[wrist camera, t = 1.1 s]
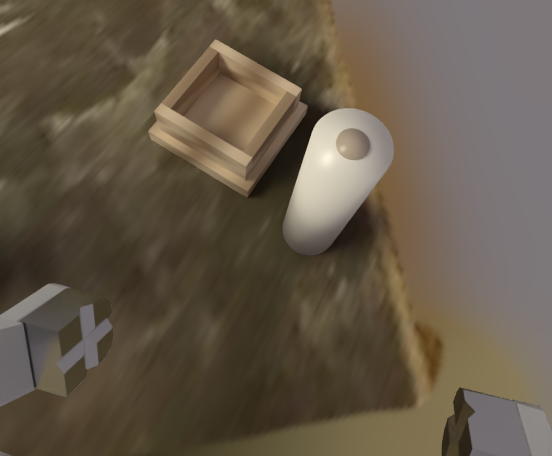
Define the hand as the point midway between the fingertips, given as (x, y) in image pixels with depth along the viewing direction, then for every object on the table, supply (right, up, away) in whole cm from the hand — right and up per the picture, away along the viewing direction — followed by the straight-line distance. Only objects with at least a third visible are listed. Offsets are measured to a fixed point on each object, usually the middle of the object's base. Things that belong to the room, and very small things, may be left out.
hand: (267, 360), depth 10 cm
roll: (+3, +3, +31) cm, 31 cm away
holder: (-4, +13, +34) cm, 37 cm away
